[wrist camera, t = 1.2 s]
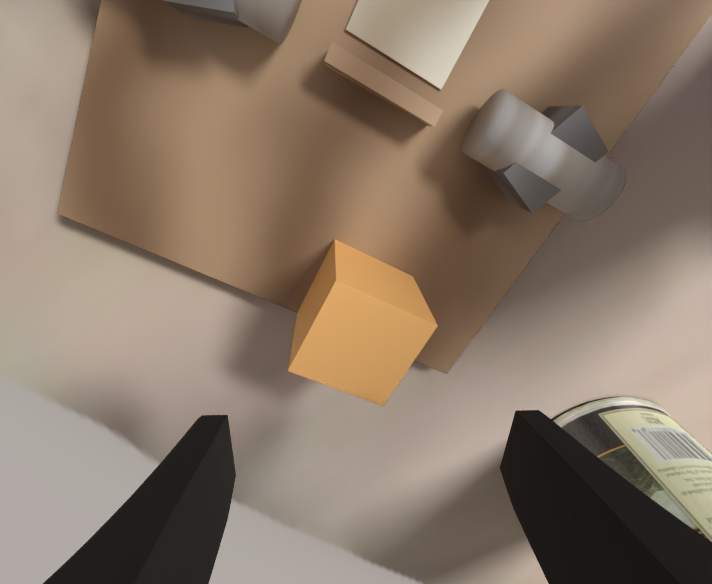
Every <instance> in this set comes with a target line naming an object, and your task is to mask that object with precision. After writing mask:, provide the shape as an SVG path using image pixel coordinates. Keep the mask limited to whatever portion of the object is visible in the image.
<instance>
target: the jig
mask: <svg viewBox="0 0 712 584" xmlns="http://www.w3.org/2000/svg"><path fill="white" fill-rule="evenodd" d="M711 14H712V0H101V3H100V8H99V13H98V18H97V23H96V28H95V32H94V37H93V42H92V47H91V52H90V57H89V61H88V66H87V71H86V76H85V81H84V86H83V90H82V95H81V100H80V105H79V110H78V114H77V119H76V124H75V129H74V134H73V139H72V143H71V148H70V153H69V158H68V163H67V168H66V172H65V177H64V182H63V187H62V192H61V197H60V201H59V206H58V211H57V214H60V215H62V216H64V217H67V218H69V219H72V220H74V221H77V222H79V223H81V224H84V225H86V226H89V227H91V228H94V229H96V230H98V231H101V232H103V233H106V234H108V235H110V236H113V237H115V238H118V239H120V240H123V241H125V242H127V243H130V244H132V245H135V246H137V247H140V248H142V249H144V250H147V251H149V252H152V253H154V254H157V255H159V256H161V257H164V258H166V259H169V260H171V261H174V262H176V263H178V264H181V265H183V266H186V267H188V268H191V269H193V270H195V271H198V272H200V273H203V274H205V275H207V276H210V277H212V278H215V279H217V280H220V281H222V282H224V283H227V284H229V285H232V286H234V287H237V288H239V289H241V290H244V291H246V292H249V293H251V294H254V295H256V296H258V297H261V298H263V299H266V300H268V301H271V302H273V303H275V304H278V305H280V306H283V307H285V308H288V309H290V310H292V311H295V312H298V310H299V308H300V306H301V304H302V302H303V300H304V298H305V296H306V295H307V293H308V291H309V289H310V287H311V285H312V283H313V281H314V279H315V277H316V275H317V273H318V271H319V269H320V267H321V265H322V263H323V261H324V259H325V257H326V255H327V253H328V251H329V249H330V247H331V245H332V244H333V242H334V240H337V241H340V242H342V243H344V244H346V245H348V246H350V247H352V248H354V249H356V250H358V251H361V252H363V253H365V254H367V255H369V256H371V257H373V258H375V259H377V260H379V261H382V262H384V263H386V264H388V265H390V266H392V267H394V268H396V269H398V270H401V271H403V272H405V273H407V274H409V275H411V276H413V278H414V280H415V281H416V283H417V285H418V287H419V289H420V291H421V293H422V295H423V297H424V299H425V301H426V303H427V305H428V307H429V309H430V311H431V313H432V315H433V317H434V319H435V321H436V323H437V325H438V326H437V328H436V329H435V331H434V332H433V334H432V335H431V337H430V338H429V340H428V341H427V343H426V344H425V345H424V347H423V348H422V350H421V351H420V353H419V354H418V356H417V357H416V359H415V360H414V361H416V362H418V363H421V364H423V365H426V366H428V367H431V368H433V369H435V370H438V371H440V372H443V373H445V374H447V373H448V372H449V370H450V369H451V367H452V366H453V365H454V363H455V362H456V361H457V359H458V358H459V357H460V355H461V354H462V353H463V351H464V350H465V348H466V347H467V346H468V344H469V343H470V342H471V340H472V339H473V338H474V336H475V335H476V333H477V332H478V331H479V329H480V328H481V327H482V325H483V324H484V323H485V321H486V320H487V319H488V317H489V316H490V314H491V313H492V312H493V310H494V309H495V308H496V306H497V305H498V304H499V302H500V301H501V299H502V298H503V297H504V295H505V294H506V293H507V291H508V290H509V289H510V287H511V286H512V285H513V283H514V282H515V280H516V279H517V278H518V276H519V275H520V274H521V272H522V271H523V270H524V268H525V267H526V266H527V264H528V263H529V261H530V260H531V259H532V257H533V256H534V255H535V253H536V252H537V251H538V249H539V248H540V246H541V245H542V244H543V242H544V241H545V240H546V238H547V237H548V236H549V234H550V233H551V232H552V230H553V229H554V227H555V226H556V225H557V223H558V222H559V221H560V219H561V218H562V217H563V215H564V214H567V215H569V216H570V217H572V218H574V219H575V220H578V221H585V220H589V219H592V218H594V217H596V216H598V215H600V214H601V213H603V212H604V211H605V210H606V209H608V208H609V207H610V206H611V205H612V204H613V203H614V201H615V200H616V199H617V198H618V196H619V195H620V193H621V191H622V189H623V187H624V185H625V181H626V173H625V170H624V169H623V168H622V167H621V166H620V165H618V164H617V163H615V162H614V161H612V160H611V159H609V158H608V157H607V155H608V154H609V153H610V151H611V150H612V149H613V147H614V146H615V145H616V143H617V142H618V140H619V139H620V138H621V136H622V135H623V134H624V132H625V131H626V130H627V128H628V127H629V126H630V124H631V123H632V121H633V120H634V119H635V117H636V116H637V115H638V113H639V112H640V111H641V109H642V108H643V106H644V105H645V104H646V102H647V101H648V100H649V98H650V97H651V96H652V94H653V93H654V92H655V90H656V89H657V87H658V86H659V85H660V83H661V82H662V81H663V79H664V78H665V77H666V75H667V74H668V72H669V71H670V70H671V68H672V67H673V66H674V64H675V63H676V62H677V60H678V59H679V58H680V56H681V55H682V53H683V52H684V51H685V49H686V48H687V47H688V45H689V44H690V43H691V41H692V40H693V39H694V37H695V36H696V34H697V33H698V32H699V30H700V29H701V28H702V26H703V25H704V24H705V22H706V21H707V19H708V18H709V17H710V15H711Z"/></svg>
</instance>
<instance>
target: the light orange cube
mask: <svg viewBox="0 0 712 584" xmlns="http://www.w3.org/2000/svg"><path fill="white" fill-rule="evenodd" d="M437 326H438V325H437V323H436V321H435V319H434V317H433V315H432V313H431V311H430V309H429V307H428V305H427V303H426V301H425V299H424V297H423V295H422V293H421V291H420V289H419V287H418V285H417V283H416V281H415V280H414V278H413V276H411V275H409V274H407V273H405V272H403V271H401V270H398V269H396V268H394V267H392V266H390V265H388V264H386V263H384V262H382V261H379V260H377V259H375V258H373V257H371V256H369V255H367V254H365V253H363V252H361V251H358V250H356V249H354V248H352V247H350V246H348V245H346V244H344V243H342V242H340V241H337V240H334V242H333V244H332V245H331V247H330V249H329V251H328V253H327V255H326V257H325V259H324V261H323V263H322V265H321V267H320V269H319V271H318V273H317V275H316V277H315V279H314V281H313V283H312V285H311V287H310V289H309V291H308V293H307V295H306V296H305V298H304V300H303V302H302V304H301V306H300V308H299V310H298V312H297V317H296V324H295V330H294V336H293V342H292V348H291V354H290V360H289V366H288V371H289V372H292V373H294V374H297V375H300V376H303V377H305V378H308V379H311V380H313V381H316V382H319V383H322V384H324V385H327V386H330V387H332V388H335V389H338V390H341V391H343V392H346V393H349V394H351V395H354V396H357V397H360V398H362V399H365V400H368V401H370V402H373V403H376V404H378V405H381V406H383V405H384V404H385V403H386V401H387V400H388V398H389V397H390V395H391V394H392V392H393V391H394V389H395V388H396V386H397V385H398V383H399V382H400V381H401V379H402V378H403V376H404V375H405V373H406V372H407V370H408V369H409V367H410V366H411V364H412V363H413V362H414V360H415V359H416V357H417V356H418V354H419V353H420V351H421V350H422V348H423V347H424V345H425V344H426V343H427V341H428V340H429V338H430V337H431V335H432V334H433V332H434V331H435V329H436V328H437Z"/></svg>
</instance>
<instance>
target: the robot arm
mask: <svg viewBox="0 0 712 584" xmlns="http://www.w3.org/2000/svg"><path fill="white" fill-rule="evenodd" d="M500 470H501V473H502V476H503V479H504V482H505V485H506V488H507V491H508V494H509V497H510V500H511V503H512V505H513V508H514V511H515V513H516V515H517V517H518V519H519V522H520V524H521V526H522V528H523V530H524V532H525V534H526V537H527V539H528V541H529V543H530V545H531V547H532V549H533V551H534V554H535V556H536V558H537V560H538V562H539V564H540V566H541V568H542V570H543V572H544V575H545V577H546V579H547V581H548V583H549V584H712V542H711V541H710V540H708V539H707V538H705V537H704V536H703V535H701V534H700V533H698V532H697V531H695V530H694V529H692V528H691V527H690V526H688V525H687V524H685V523H684V522H682V521H681V520H680V519H678V518H677V517H676V516H674V515H673V514H672V513H670V512H669V511H667V510H666V509H665V508H663V507H662V506H661V505H659V504H658V503H656V502H655V501H654V500H652V499H651V498H650V497H648V496H647V495H646V494H644V493H643V492H642V491H640V490H639V489H638V488H636V487H635V486H634V485H632V484H631V483H630V482H629V481H627V480H626V479H625V478H623V477H622V476H621V475H620V474H618V473H617V472H616V471H615V470H613V469H612V468H611V467H609V466H608V465H607V464H606V463H604V462H603V461H602V460H601V459H599V458H598V457H597V456H596V455H594V454H593V453H592V452H591V451H589V450H588V449H587V448H586V447H585V446H583V445H582V444H581V443H580V442H578V441H577V440H576V439H575V438H573V437H572V436H571V435H570V434H568V433H567V432H566V431H565V430H564V429H562V428H561V427H560V426H559V425H557V424H556V423H555V422H554V421H552V420H551V419H550V418H548V417H547V416H546V415H544V414H543V413H542V412H540V411H539V410H527V411H516V412H515V415H514V419H513V423H512V426H511V430H510V433H509V437H508V441H507V444H506V448H505V451H504V455H503V459H502V462H501V466H500ZM235 476H236V473H235V466H234V459H233V451H232V444H231V437H230V430H229V422H228V415H205V416H201V417H200V418H199V419H197V421H196V422H195V423H194V424H193V425H192V427H191V428H190V429H189V430H188V431H187V433H186V434H185V435H184V436H183V437H182V439H181V440H180V441H179V442H178V443H177V445H176V446H175V447H174V448H173V449H172V451H171V452H170V453H169V454H168V455H167V456H166V458H165V459H164V460H163V461H162V462H161V463H160V465H159V466H158V467H157V468H156V469H155V470H154V472H152V474H151V475H150V476H149V477H148V478H147V479H146V480H145V481H144V483H143V484H142V485H141V486H140V487H139V488H138V489H137V490H136V491H135V493H134V494H133V495H132V496H131V497H130V498H129V499H128V500H127V501H126V502H125V503H124V504H123V505H122V506H121V508H119V509H118V510H117V512H116V513H115V514H114V515H113V516H112V517H111V518H110V519H109V520H108V521H107V522H106V523H105V524H104V525H103V526H102V527H101V528H100V529H99V530H98V531H97V532H96V533H95V534H94V535H93V536H92V537H91V538H90V539H89V540H88V541H87V542H86V543H85V544H84V545H83V546H82V547H81V548H80V549H79V550H78V551H77V552H76V553H75V554H74V555H73V556H72V557H71V558H70V559H69V560H68V561H67V562H66V563H65V564H63V565H62V567H61V568H59V569H58V570H57V571H56V572H55V573H54V574H53V575H52V576H51V577H50V578H48V579H47V580H46V581H45V582H44V583H43V584H208V583H209V580H210V577H211V573H212V570H213V567H214V563H215V560H216V556H217V553H218V550H219V546H220V543H221V539H222V536H223V533H224V529H225V526H226V522H227V519H228V513H229V509H230V504H231V498H232V493H233V487H234V482H235Z"/></svg>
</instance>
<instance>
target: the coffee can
mask: <svg viewBox="0 0 712 584" xmlns="http://www.w3.org/2000/svg"><path fill="white" fill-rule="evenodd" d="M553 421H554V422H555V423H556V424H557V425H559V426H560V427H561V428H562V429H564V430H565V431H566V432H567V433H568V434H570V435H571V436H572V437H573V438H575V439H576V440H577V441H578V442H580V443H581V444H582V445H583V446H585V447H586V448H587V449H588V450H589V451H591V452H592V453H593V454H594V455H596V456H597V457H598V458H599V459H601V460H602V461H603V462H604V463H606V464H607V465H608V466H609V467H611V468H612V469H613V470H615V471H616V472H617V473H618V474H620V475H621V476H622V477H623V478H625V479H626V480H627V481H629V482H630V483H631V484H632V485H634V486H635V487H636V488H638V489H639V490H640V491H642V492H643V493H644V494H646V495H647V496H648V497H650V498H651V499H652V500H654V501H655V502H656V503H658V504H659V505H661V506H662V507H663V508H665V509H666V510H667V511H669V512H670V513H672V514H673V515H674V516H676V517H677V518H678V519H680V520H681V521H682V522H684V523H685V524H687V525H688V526H690V527H691V528H692V529H694V530H695V531H697V532H698V533H700V534H701V535H703V536H704V537H705V538H707V539H708V540H710V541H711V542H712V453H711V452H710V451H709V450H707V449H706V448H705V447H704V446H703V445H702V444H701V443H700V442H698V441H697V440H696V439H695V438H694V437H693V436H692V435H691V434H689V433H688V432H687V431H686V430H685V429H684V428H683V427H682V426H680V425H679V424H678V423H677V422H676V421H675V420H674V419H673V418H672V417H671V416H670V415H669V413H668V412H667V411H666V410H664V409H663V408H662V407H660V406H659V405H657V404H655V403H654V402H651V401H647V400H643V399H639V398H632V397H614V398H606V399H601V400H597V401H592V402H589V403H586V404H585V405H582V406H579V407H576V408H574V409H572V410H570V411H568V412H566V413H564V414H562V415H561V416H559V417H557V418H556V419H554V420H553Z"/></svg>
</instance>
